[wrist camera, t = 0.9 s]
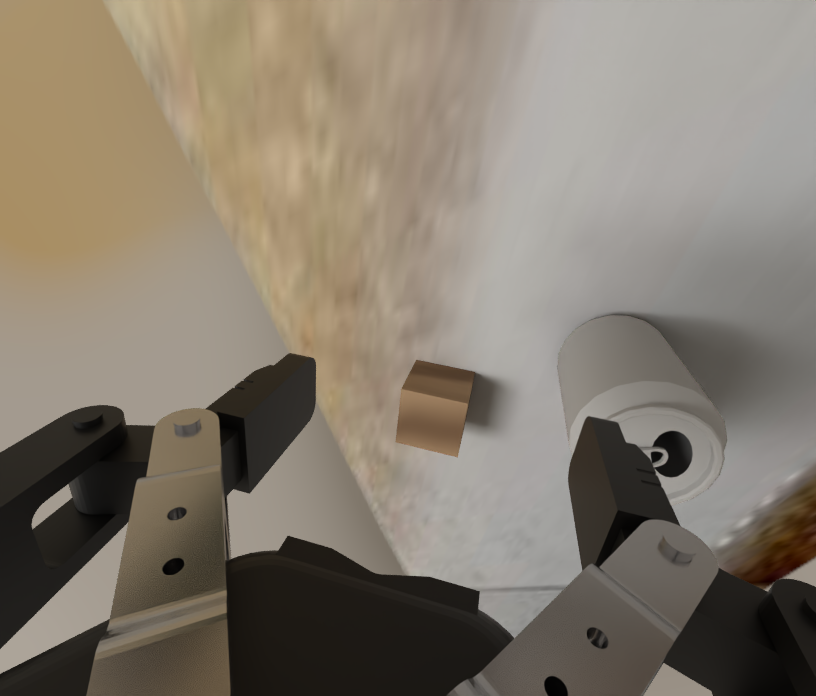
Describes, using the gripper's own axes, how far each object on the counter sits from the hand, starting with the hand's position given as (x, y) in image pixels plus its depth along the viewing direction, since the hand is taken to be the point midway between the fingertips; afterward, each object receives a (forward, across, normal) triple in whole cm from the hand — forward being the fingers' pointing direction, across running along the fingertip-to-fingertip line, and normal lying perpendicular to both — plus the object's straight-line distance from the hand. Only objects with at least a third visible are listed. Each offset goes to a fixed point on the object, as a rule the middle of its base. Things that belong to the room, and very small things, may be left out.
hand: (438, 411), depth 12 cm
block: (+21, +2, +11) cm, 24 cm away
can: (+21, -10, +5) cm, 24 cm away
